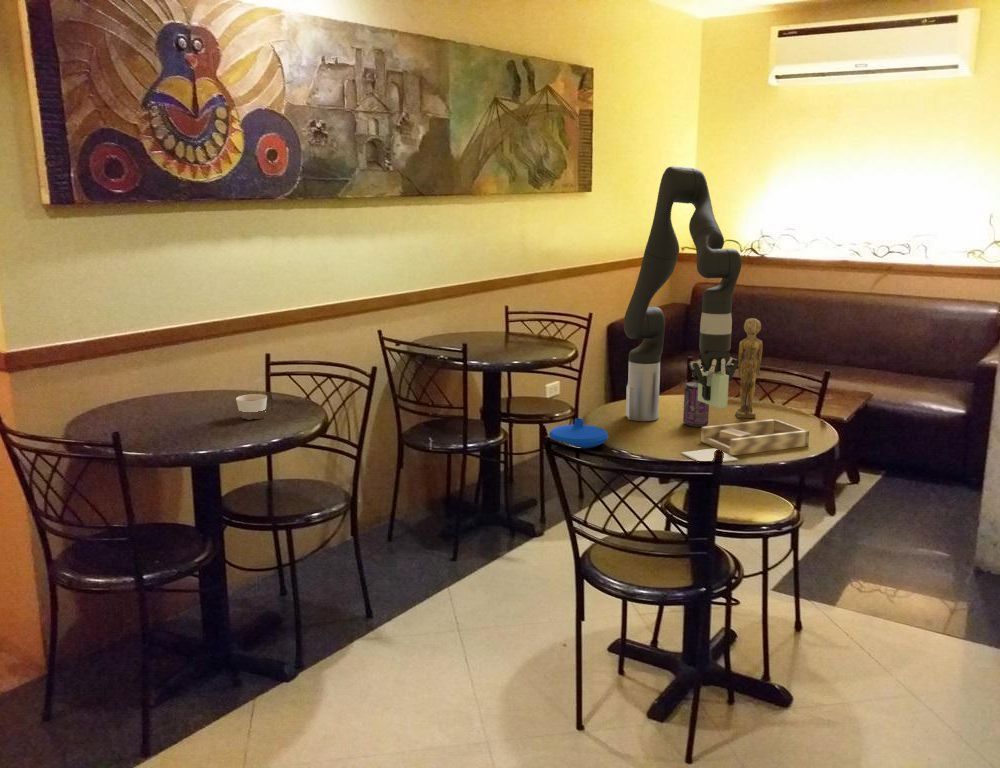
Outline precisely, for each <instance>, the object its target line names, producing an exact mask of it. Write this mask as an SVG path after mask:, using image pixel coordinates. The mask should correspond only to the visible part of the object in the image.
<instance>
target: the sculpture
mask: <svg viewBox="0 0 1000 768" xmlns="http://www.w3.org/2000/svg"><path fill="white" fill-rule="evenodd" d="M761 329H762V323H761V321H760V320H758V319H757V318H754V317H753V318H752V317H750V318H747V319H746V320H745V322H744V324H743V330H744V332H745V333H746V335H747V336H746V338H743V339H741V340H740V342H739V344H738V359H737V360H739V364H738V366H737V368H738V369H737V376H738V377H739V379H740V386H739V396H740V397H739V398H740V406H739V407H740V408H738V409H737V410H736V411H735V417H736V418H737V419H738V418H749V419H751V418H756V417H757V414H756V412H755V411H754V410H753V400H754V398H755V393H756V382H757V381H756V380H757V378H758V377H760V375H761V372H760V371H761V370H760V369H761V363H762V356H763V346H764V345H763V341H762V340H761V339H759V338H758V337H757V335H758V333H760V331H761Z"/></svg>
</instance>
